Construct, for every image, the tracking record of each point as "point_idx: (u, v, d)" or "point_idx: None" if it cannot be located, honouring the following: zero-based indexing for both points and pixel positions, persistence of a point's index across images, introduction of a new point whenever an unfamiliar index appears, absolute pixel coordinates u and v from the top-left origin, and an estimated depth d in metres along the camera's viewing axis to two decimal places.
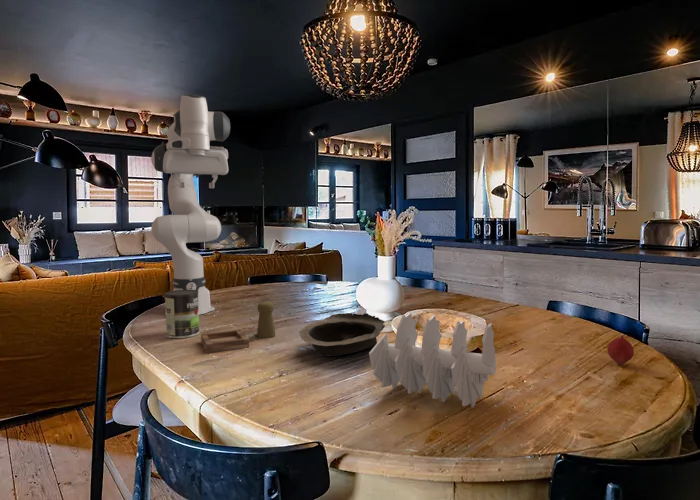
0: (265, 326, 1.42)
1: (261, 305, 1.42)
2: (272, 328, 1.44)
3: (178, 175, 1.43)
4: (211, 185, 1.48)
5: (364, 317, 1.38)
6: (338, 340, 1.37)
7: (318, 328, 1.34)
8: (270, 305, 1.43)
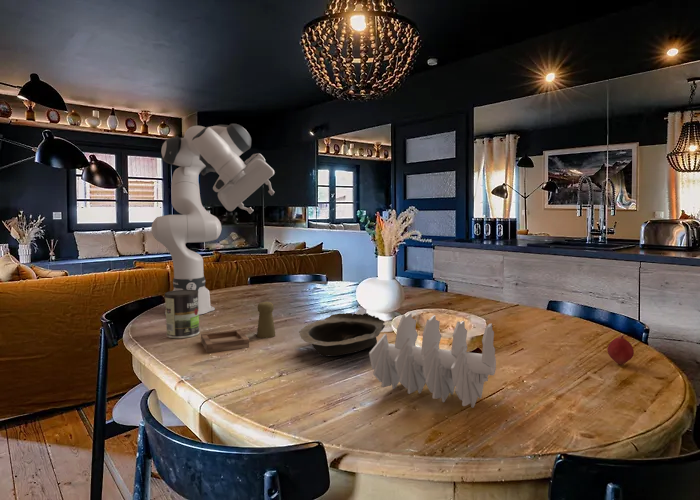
0: (265, 326, 1.42)
1: (261, 305, 1.42)
2: (272, 328, 1.44)
3: (241, 205, 1.48)
4: (270, 192, 1.48)
5: (364, 317, 1.38)
6: (338, 340, 1.37)
7: (318, 327, 1.34)
8: (270, 305, 1.43)
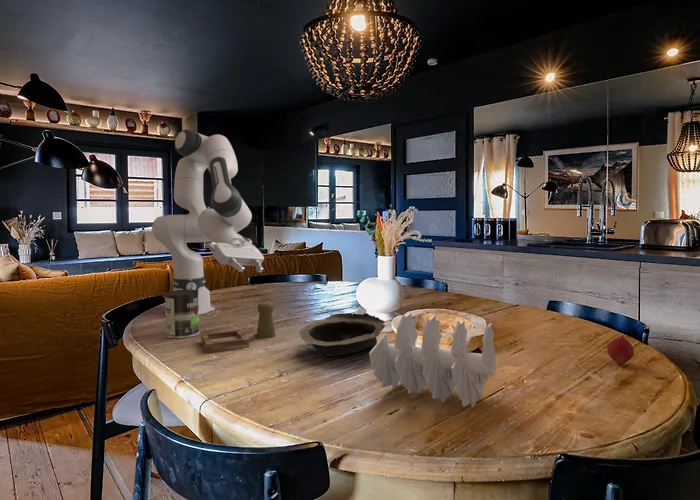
0: (265, 326, 1.42)
1: (261, 305, 1.42)
2: (272, 328, 1.44)
3: None
4: None
5: (364, 317, 1.38)
6: (338, 340, 1.37)
7: (318, 327, 1.34)
8: (270, 305, 1.43)
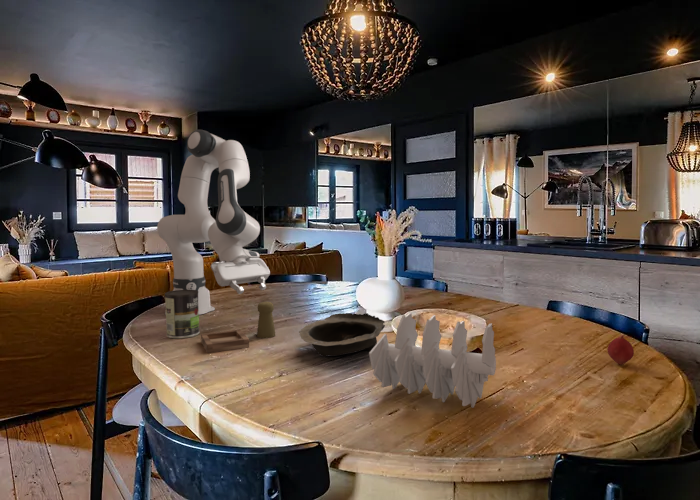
0: (265, 326, 1.42)
1: (261, 305, 1.42)
2: (272, 328, 1.44)
3: None
4: None
5: (364, 317, 1.38)
6: (338, 340, 1.37)
7: (318, 327, 1.34)
8: (270, 305, 1.43)
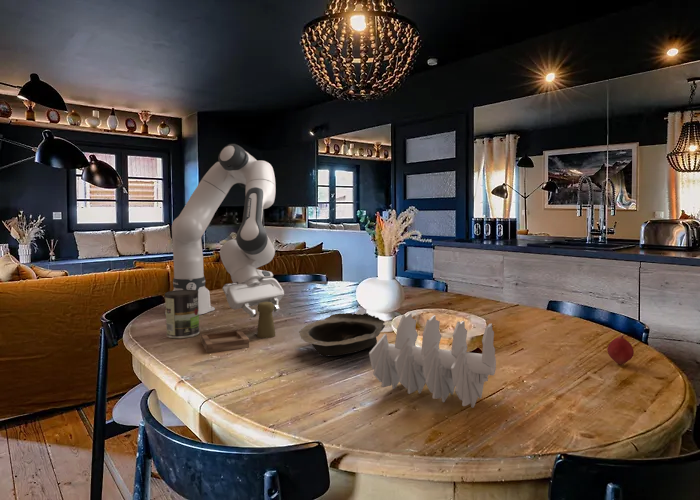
0: (265, 326, 1.42)
1: (261, 305, 1.42)
2: (272, 328, 1.44)
3: None
4: None
5: (364, 317, 1.38)
6: (338, 340, 1.37)
7: (318, 327, 1.34)
8: (270, 305, 1.43)
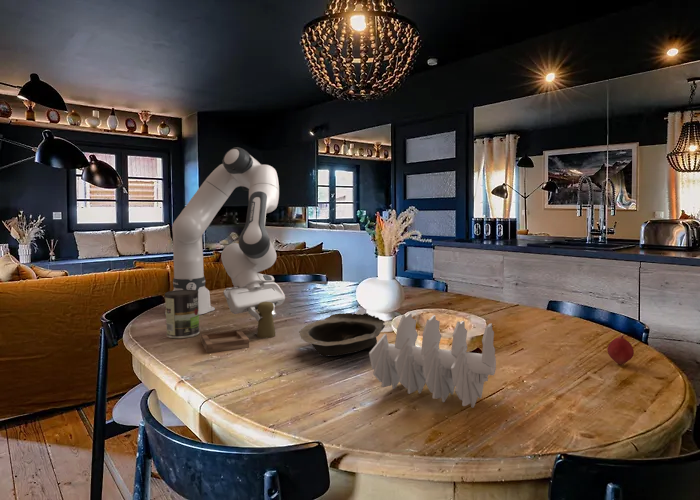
0: (265, 326, 1.42)
1: (261, 305, 1.42)
2: (272, 328, 1.44)
3: None
4: None
5: (364, 317, 1.38)
6: (338, 340, 1.37)
7: (318, 327, 1.34)
8: (270, 305, 1.43)
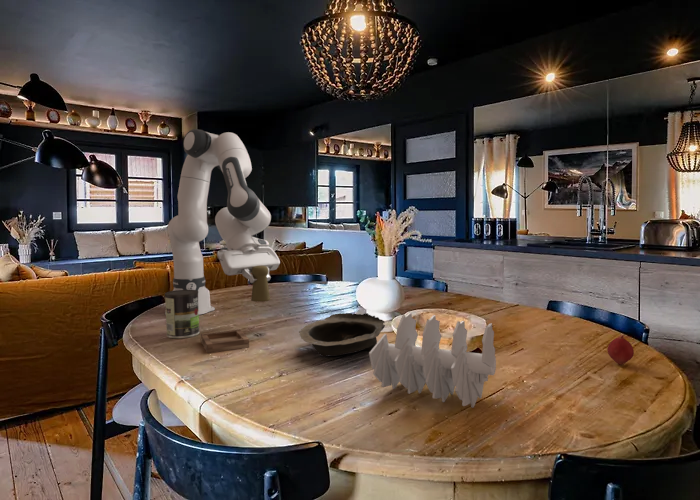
0: (259, 289, 1.40)
1: (255, 268, 1.40)
2: (266, 292, 1.42)
3: None
4: None
5: (364, 317, 1.38)
6: (338, 340, 1.37)
7: (318, 327, 1.34)
8: (265, 268, 1.41)
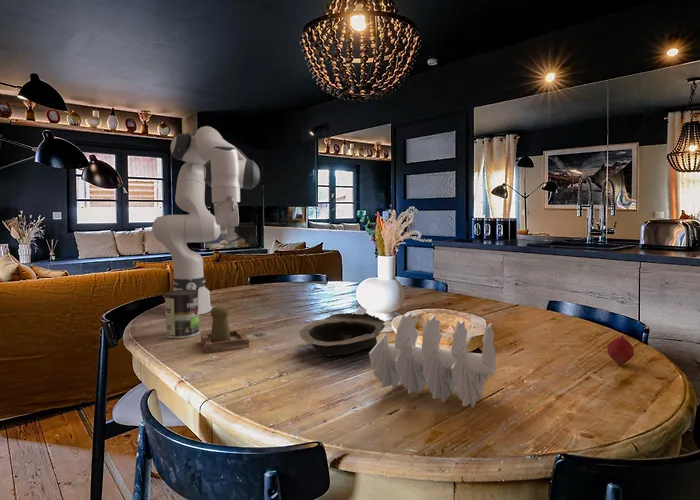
0: (218, 332, 1.32)
1: (214, 309, 1.32)
2: (226, 334, 1.33)
3: (220, 227, 1.49)
4: (227, 237, 1.41)
5: (364, 317, 1.38)
6: (338, 340, 1.37)
7: (318, 327, 1.34)
8: (224, 309, 1.32)
